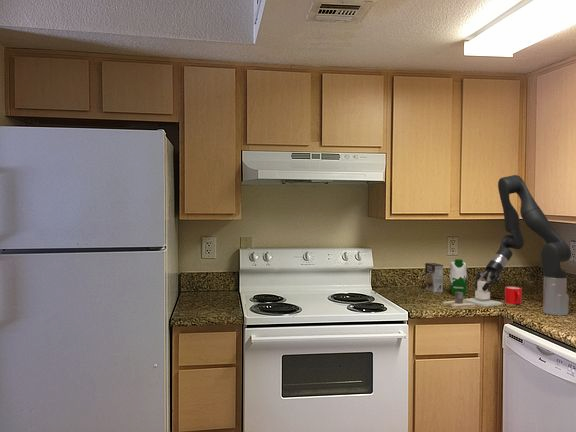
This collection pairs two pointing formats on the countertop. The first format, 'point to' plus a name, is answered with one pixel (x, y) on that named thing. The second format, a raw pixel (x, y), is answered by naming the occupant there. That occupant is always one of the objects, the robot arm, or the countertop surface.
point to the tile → (482, 302)
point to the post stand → (459, 302)
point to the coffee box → (434, 277)
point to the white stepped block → (481, 291)
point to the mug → (513, 295)
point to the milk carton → (458, 276)
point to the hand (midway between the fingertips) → (479, 288)
